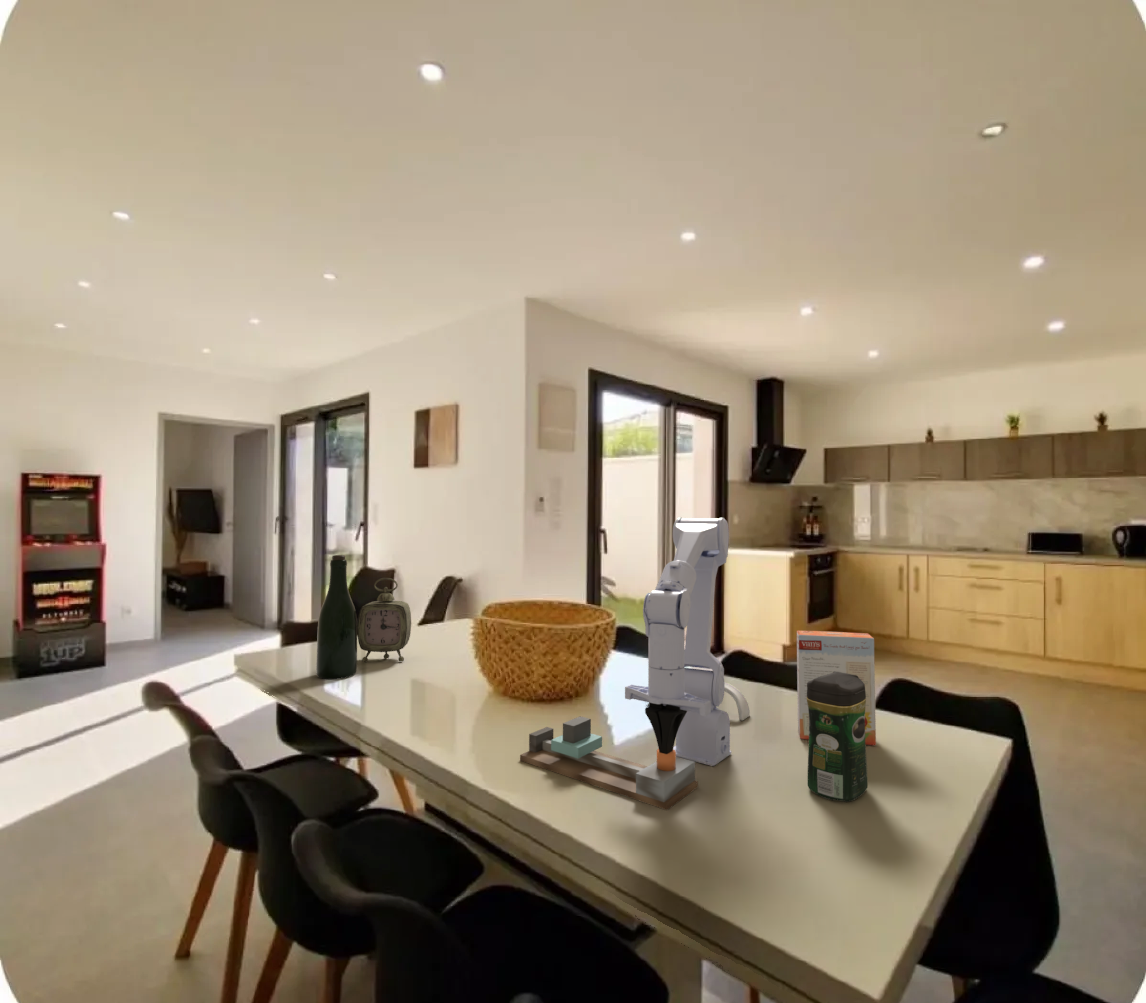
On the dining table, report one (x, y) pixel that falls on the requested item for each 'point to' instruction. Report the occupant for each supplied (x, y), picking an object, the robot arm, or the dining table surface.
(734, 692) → the spoon rest
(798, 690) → the cracker box
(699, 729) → the robot arm
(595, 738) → the carriage
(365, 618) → the tabletop clock
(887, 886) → the dining table surface
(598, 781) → the rail board
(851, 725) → the coffee jar
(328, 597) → the green wine bottle
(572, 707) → the dining table surface
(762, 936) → the dining table surface
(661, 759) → the button
